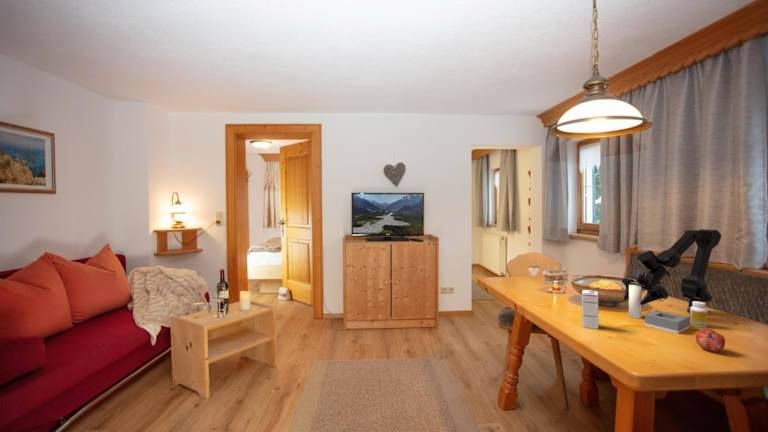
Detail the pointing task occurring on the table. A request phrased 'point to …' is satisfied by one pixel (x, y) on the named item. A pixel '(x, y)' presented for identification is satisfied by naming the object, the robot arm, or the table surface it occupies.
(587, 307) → the syrup box
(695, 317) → the supplement bottle
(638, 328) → the table surface
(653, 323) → the socket
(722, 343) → the pomegranate
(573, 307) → the table surface
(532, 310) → the table surface
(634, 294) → the white cylinder
